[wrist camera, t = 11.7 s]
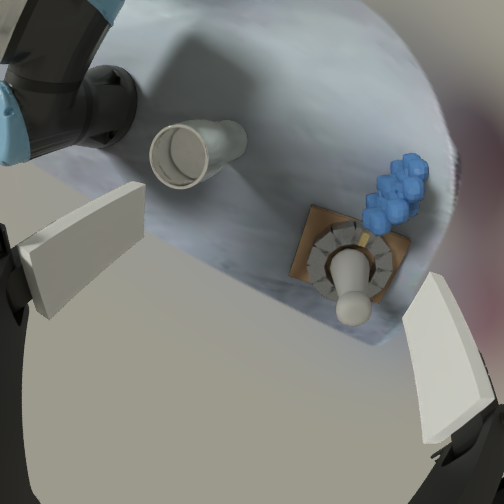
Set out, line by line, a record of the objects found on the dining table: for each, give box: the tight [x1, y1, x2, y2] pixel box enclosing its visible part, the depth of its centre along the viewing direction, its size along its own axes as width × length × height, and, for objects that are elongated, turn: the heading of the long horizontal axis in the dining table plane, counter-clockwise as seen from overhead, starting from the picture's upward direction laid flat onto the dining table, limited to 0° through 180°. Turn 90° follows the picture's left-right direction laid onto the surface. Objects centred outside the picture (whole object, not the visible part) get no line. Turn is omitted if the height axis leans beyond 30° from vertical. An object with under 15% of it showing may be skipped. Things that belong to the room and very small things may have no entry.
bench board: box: [289, 205, 411, 304], centre depth 41 cm, size 16×12×1 cm
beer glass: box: [149, 119, 247, 189], centre depth 31 cm, size 7×7×15 cm
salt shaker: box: [330, 248, 372, 326], centre depth 35 cm, size 6×6×13 cm
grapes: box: [362, 153, 429, 236], centre depth 30 cm, size 12×7×12 cm, turn 146°
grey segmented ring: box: [307, 220, 393, 302], centre depth 39 cm, size 12×12×3 cm
